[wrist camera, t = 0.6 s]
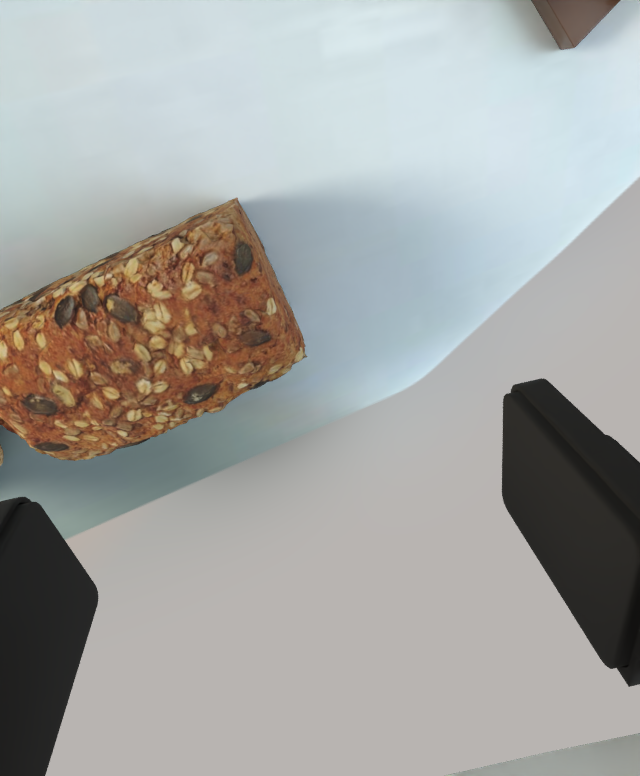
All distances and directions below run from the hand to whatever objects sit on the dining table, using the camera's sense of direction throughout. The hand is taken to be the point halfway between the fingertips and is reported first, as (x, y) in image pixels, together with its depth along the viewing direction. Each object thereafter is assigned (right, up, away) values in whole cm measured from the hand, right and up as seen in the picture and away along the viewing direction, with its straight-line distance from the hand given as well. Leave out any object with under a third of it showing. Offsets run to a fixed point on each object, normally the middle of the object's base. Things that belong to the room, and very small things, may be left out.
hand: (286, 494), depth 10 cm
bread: (-11, +8, +25) cm, 29 cm away
